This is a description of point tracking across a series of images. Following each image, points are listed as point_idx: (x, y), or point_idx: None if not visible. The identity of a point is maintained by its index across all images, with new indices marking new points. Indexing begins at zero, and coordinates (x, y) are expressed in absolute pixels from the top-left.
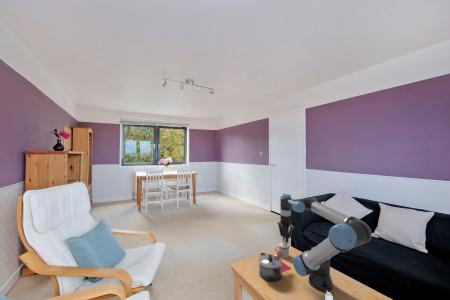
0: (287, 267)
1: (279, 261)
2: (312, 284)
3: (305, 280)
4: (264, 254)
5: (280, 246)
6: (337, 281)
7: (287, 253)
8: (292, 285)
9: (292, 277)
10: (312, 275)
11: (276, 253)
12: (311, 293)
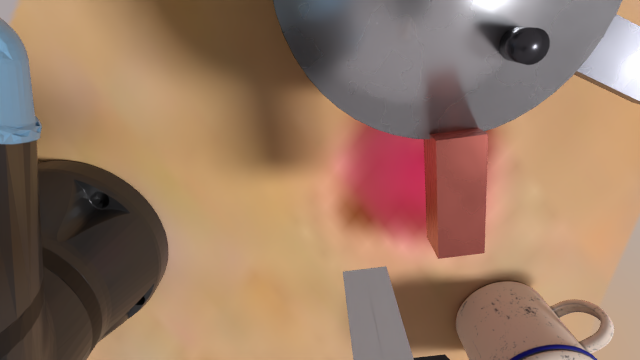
0: (370, 209)
1: (345, 61)
2: (66, 168)
3: (164, 184)
4: (628, 76)
5: (561, 357)
6: None
7: (469, 343)
8: (168, 31)
9: (249, 129)
10: (47, 217)
11: (486, 169)
12: None
